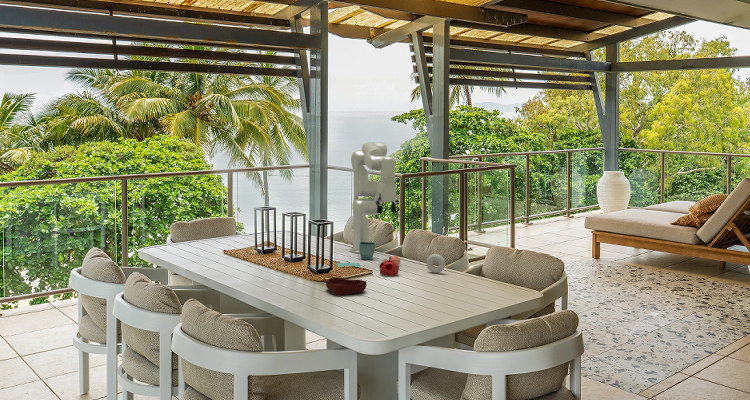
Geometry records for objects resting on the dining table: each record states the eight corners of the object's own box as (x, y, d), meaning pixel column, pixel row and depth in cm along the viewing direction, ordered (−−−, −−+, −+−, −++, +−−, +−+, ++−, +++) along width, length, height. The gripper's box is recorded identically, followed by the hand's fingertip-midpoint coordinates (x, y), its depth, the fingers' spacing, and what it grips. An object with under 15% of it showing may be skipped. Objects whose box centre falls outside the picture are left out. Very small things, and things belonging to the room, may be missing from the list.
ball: (389, 264, 359) (389, 254, 358) (399, 264, 360) (399, 254, 359) (390, 266, 354) (391, 256, 353) (401, 266, 354) (401, 256, 354)
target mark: (336, 263, 358) (336, 262, 358) (358, 263, 360) (358, 262, 360) (338, 267, 346) (338, 267, 346) (361, 267, 348) (361, 267, 348)
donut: (445, 273, 341) (446, 254, 340) (443, 274, 338) (444, 255, 337) (426, 271, 345) (427, 252, 344) (425, 272, 342) (425, 253, 341)
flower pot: (374, 260, 369) (375, 244, 368) (358, 260, 369) (359, 244, 368) (374, 257, 378) (375, 242, 377) (359, 257, 378) (359, 241, 377)
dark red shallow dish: (316, 294, 288) (317, 283, 288) (332, 286, 304) (332, 276, 303) (354, 299, 282) (355, 287, 282) (368, 291, 297) (369, 280, 297)
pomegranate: (388, 272, 340) (389, 254, 339) (402, 275, 333) (403, 257, 332) (374, 274, 333) (375, 256, 332) (388, 277, 326) (389, 258, 325)
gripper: (395, 179, 360) (394, 211, 361) (370, 180, 349) (369, 212, 350) (404, 180, 354) (403, 212, 356) (379, 181, 343) (378, 214, 345)
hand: (386, 212), depth 353 cm, fingers open, 9 cm apart
